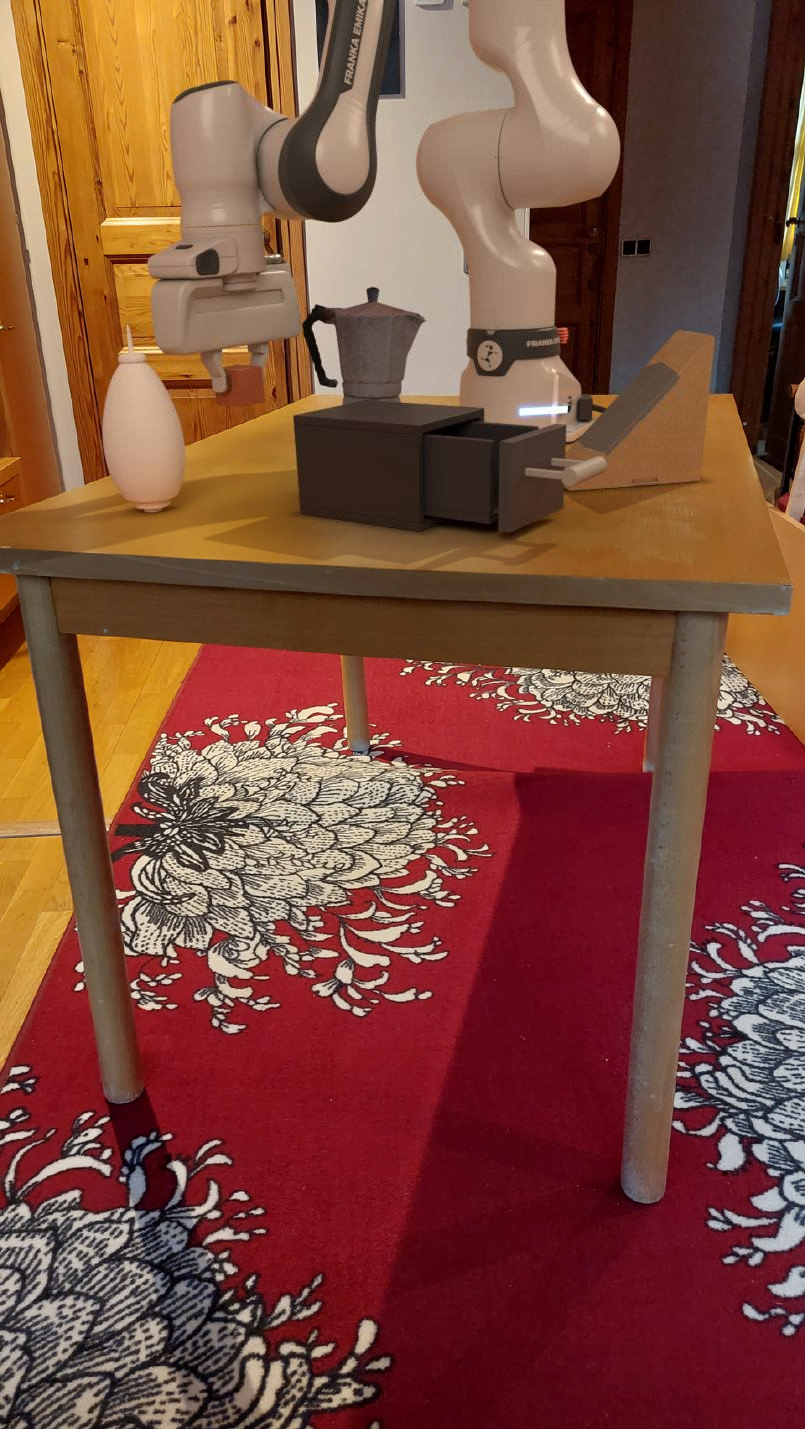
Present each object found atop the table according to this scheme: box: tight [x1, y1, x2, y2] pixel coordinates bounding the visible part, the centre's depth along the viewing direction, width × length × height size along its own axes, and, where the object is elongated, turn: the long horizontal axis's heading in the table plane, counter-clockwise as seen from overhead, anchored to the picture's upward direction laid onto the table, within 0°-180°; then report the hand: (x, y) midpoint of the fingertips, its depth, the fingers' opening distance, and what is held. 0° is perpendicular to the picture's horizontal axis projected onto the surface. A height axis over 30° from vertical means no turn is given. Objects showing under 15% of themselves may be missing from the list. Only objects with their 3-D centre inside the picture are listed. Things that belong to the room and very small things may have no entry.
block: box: [214, 364, 266, 408], centre depth 113 cm, size 4×4×4 cm
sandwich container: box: [564, 329, 716, 492], centre depth 106 cm, size 9×15×15 cm, turn 102°
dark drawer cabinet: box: [292, 400, 484, 532], centre depth 97 cm, size 15×12×10 cm
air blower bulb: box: [101, 324, 187, 513], centre depth 98 cm, size 8×8×18 cm
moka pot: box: [301, 286, 427, 405], centre depth 119 cm, size 10×15×20 cm, turn 78°
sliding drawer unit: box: [422, 421, 607, 534], centre depth 91 cm, size 19×10×8 cm, turn 55°
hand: (239, 388), depth 114 cm, fingers closed on block, 4 cm apart
